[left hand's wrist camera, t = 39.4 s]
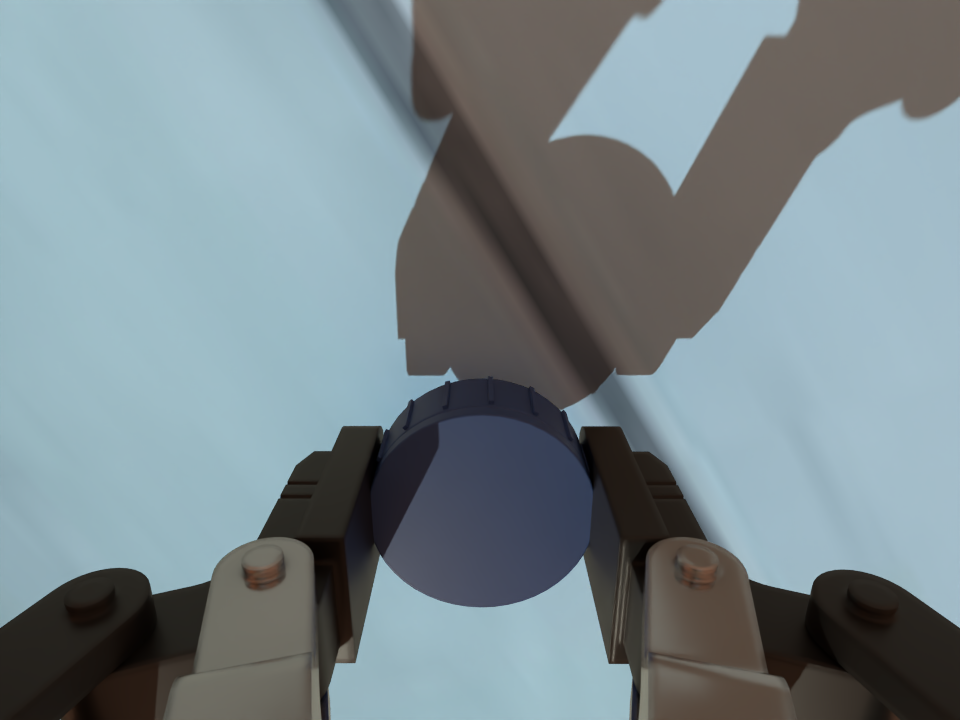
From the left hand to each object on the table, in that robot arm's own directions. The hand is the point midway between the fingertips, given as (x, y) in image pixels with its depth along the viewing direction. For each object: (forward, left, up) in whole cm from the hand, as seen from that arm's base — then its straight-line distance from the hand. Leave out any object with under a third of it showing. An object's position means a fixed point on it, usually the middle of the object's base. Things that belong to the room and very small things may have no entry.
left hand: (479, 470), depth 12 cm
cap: (0, 0, +1) cm, 1 cm away
